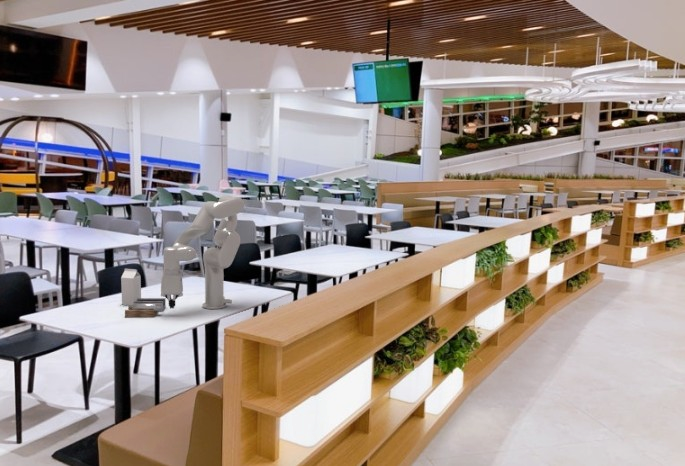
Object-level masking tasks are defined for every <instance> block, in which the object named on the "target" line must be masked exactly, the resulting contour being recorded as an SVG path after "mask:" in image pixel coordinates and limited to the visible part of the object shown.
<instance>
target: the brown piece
mask: <svg viewBox="0 0 685 466" xmlns="http://www.w3.org/2000/svg"><path fill="white" fill-rule="evenodd" d="M127 307H128V308H127V309H125V310H124V318H155V317H156V316H157V315H158V313H159V312H158V311H155V310H132V306H129V305H128V306H127Z"/></svg>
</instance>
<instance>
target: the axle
mask: <svg viewBox="0 0 685 466" xmlns="http://www.w3.org/2000/svg"><path fill="white" fill-rule="evenodd" d="M132 310H155V311H162V310H163V304H162V303H133V305H132ZM163 311H164V310H163Z"/></svg>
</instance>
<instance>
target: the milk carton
mask: <svg viewBox="0 0 685 466" xmlns="http://www.w3.org/2000/svg"><path fill="white" fill-rule="evenodd" d="M141 280H142V279H141V274H140V272H138V269H134V268H133V269H132V268H124V271H123V273H122V275H121V277H120V281H121V283H120V285H121V286H120V287H121V305H122V306H128V307H129V306H132V305H133V303H134V302H135V301H137V299H138V298H142V287H141V286H142V285H141V284H142V283H141V282H142V281H141Z"/></svg>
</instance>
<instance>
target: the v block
mask: <svg viewBox="0 0 685 466" xmlns="http://www.w3.org/2000/svg"><path fill="white" fill-rule="evenodd" d="M166 300H167V298H166V297H159V298H158V297H144V298H143V297H141V298H138V299H137V301H135V302H134V303H162V304H163V310H162V311H158V313H164V310H165V309H166V308H167V307H166Z"/></svg>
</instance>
